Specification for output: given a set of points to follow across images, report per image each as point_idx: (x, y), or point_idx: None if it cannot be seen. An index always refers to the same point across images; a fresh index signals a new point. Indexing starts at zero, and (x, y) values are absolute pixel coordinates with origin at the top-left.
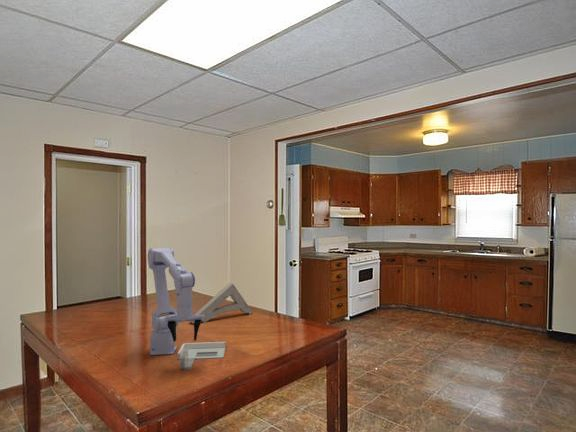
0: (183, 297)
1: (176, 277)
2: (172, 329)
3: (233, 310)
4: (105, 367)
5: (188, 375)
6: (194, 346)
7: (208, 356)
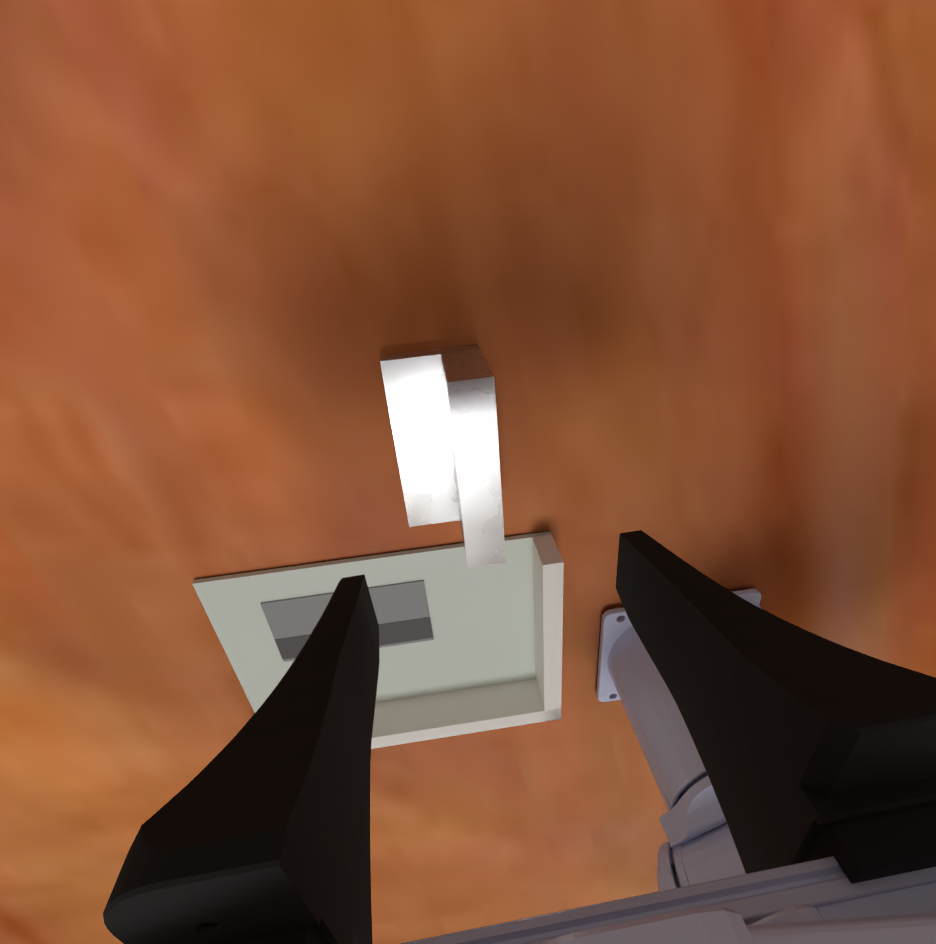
0: None
1: None
2: (772, 648)
3: None
4: None
5: (358, 209)
6: (475, 702)
7: (322, 587)
